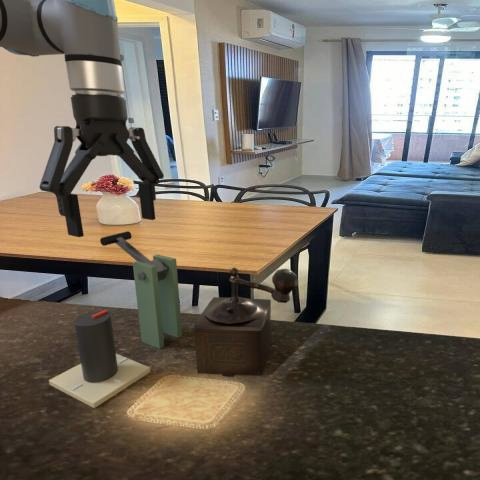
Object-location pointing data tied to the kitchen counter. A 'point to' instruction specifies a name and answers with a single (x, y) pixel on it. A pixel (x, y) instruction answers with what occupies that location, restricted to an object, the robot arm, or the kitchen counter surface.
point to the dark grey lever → (134, 251)
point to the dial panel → (99, 391)
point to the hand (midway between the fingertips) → (115, 226)
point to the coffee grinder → (239, 328)
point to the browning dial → (96, 346)
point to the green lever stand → (157, 301)
